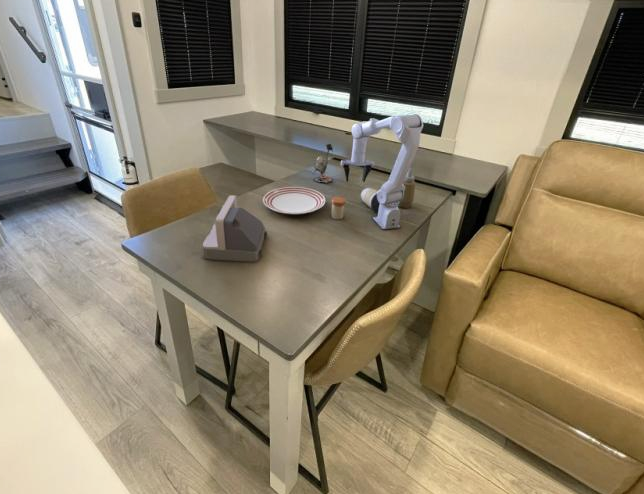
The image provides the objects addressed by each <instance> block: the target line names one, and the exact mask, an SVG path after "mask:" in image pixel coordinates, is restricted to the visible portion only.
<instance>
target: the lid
mask: <svg viewBox="0 0 644 494" xmlns="http://www.w3.org/2000/svg"><path fill="white" fill-rule="evenodd" d="M346 203H347V202H346V199H345V198H344V197H341V196H334V197H332V198H331V205H332V204H333V205H335V206H344V205H346ZM344 207H345V206H344Z"/></svg>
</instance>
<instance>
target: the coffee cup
mask: <svg viewBox="0 0 644 494" xmlns="http://www.w3.org/2000/svg"><path fill="white" fill-rule="evenodd" d="M378 191H379V190H378V189H374V188H371V187H366V188H364V189H363V190H361V193H360V198H361V200H362V201H363V202H364V203H365V204H366V205H367V206H368V208H370V209H371V210H372V211H373V212H375V213H378V211H379V205H380V203H379V201H378V199H377V193H378Z"/></svg>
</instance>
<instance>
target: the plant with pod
mask: <svg viewBox="0 0 644 494" xmlns="http://www.w3.org/2000/svg"><path fill="white" fill-rule="evenodd" d="M325 146H326V150H327V154H326V158H325V157H323V156H321V155H318V157H317V158H316V160H315V162H314V165H313V166H314V171H313V172H312V175H314V174H315V173H316V172H317V171H318V173H320V176H318V177H317V178H315V179H314V181H316V182H318V183H321V182H322V183H325V184H328V183H329V182H332V181H334V180H333V179H331V178H329V176H328V175H326V170H327V168H328V163H329V162H328V159H327V158H328V156H329V152H330V151H332V152H334V150H333V149H334V146H333V144H332V143H331V142H329V143H326V145H325Z"/></svg>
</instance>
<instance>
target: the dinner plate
mask: <svg viewBox="0 0 644 494" xmlns="http://www.w3.org/2000/svg"><path fill="white" fill-rule="evenodd" d="M262 203H263V205H264V206H265V207H266V208H267V209H270V210H272V211H273V212H277V213H279V214H284V215H297V216H298V215H306V214H310V213H313V212H316V211H318V210H320V209H321V208H323V207H324V206H325V205H326V196H324V194H323V193H321V192H320V191H318V190H315V189H312V188H308V187H301V186H286V187H280V188H279V187H278V188H275V189H272V190H270V191H269V192H267V193H266V194H265V195H264V196H263V198H262Z"/></svg>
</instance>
